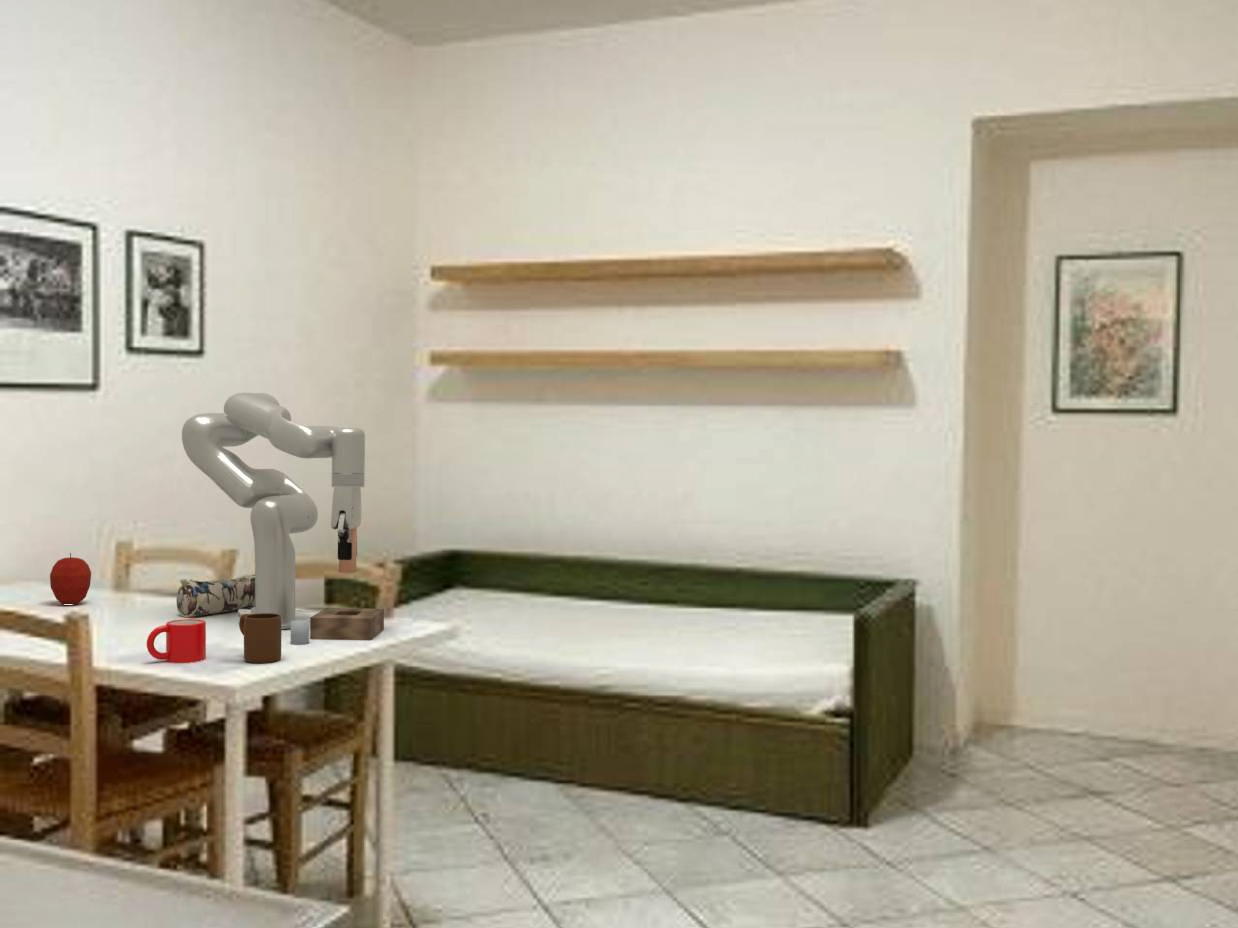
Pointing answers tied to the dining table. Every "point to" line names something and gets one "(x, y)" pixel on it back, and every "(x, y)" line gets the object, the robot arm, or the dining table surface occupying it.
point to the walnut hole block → (347, 624)
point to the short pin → (299, 632)
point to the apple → (70, 580)
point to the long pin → (350, 565)
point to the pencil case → (215, 596)
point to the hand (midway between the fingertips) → (347, 557)
